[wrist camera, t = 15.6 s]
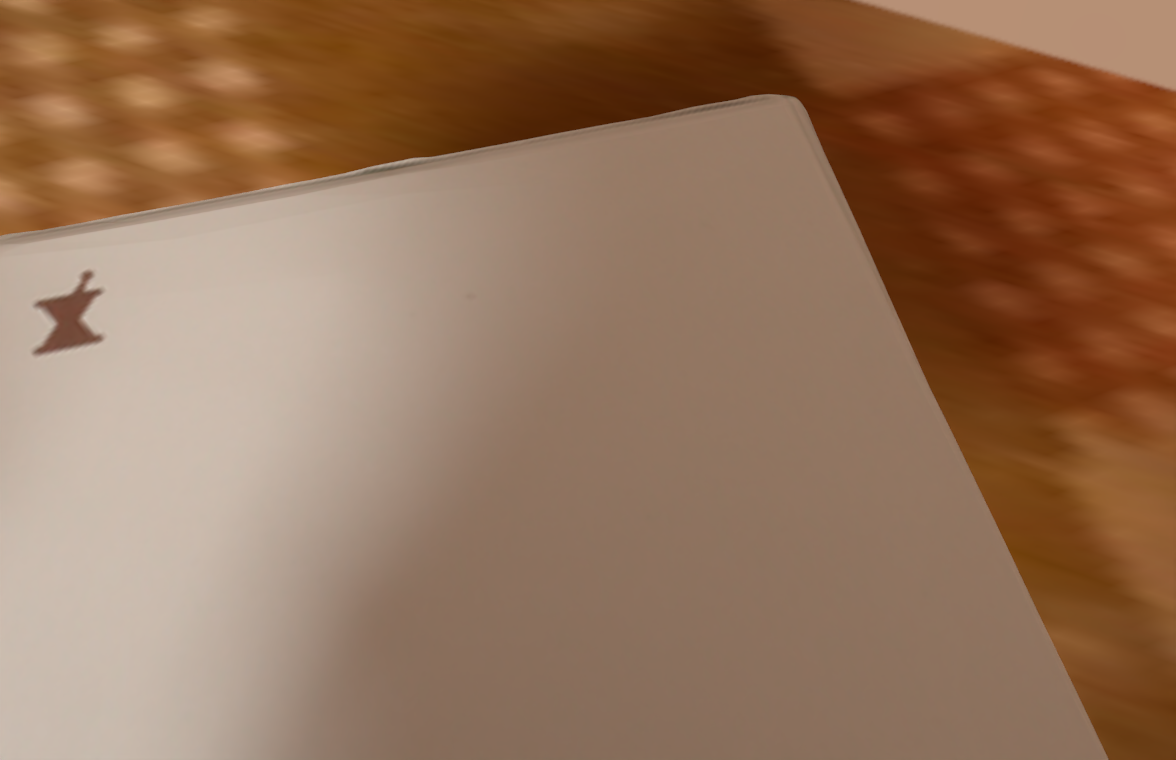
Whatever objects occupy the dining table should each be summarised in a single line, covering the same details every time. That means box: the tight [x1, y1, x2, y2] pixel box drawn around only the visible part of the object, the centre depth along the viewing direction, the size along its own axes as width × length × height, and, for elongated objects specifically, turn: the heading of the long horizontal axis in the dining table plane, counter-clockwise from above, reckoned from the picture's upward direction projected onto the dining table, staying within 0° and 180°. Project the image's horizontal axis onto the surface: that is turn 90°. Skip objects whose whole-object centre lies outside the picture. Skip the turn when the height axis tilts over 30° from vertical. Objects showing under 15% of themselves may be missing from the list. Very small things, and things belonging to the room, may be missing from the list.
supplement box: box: [0, 94, 1109, 760], centre depth 11 cm, size 7×7×13 cm
